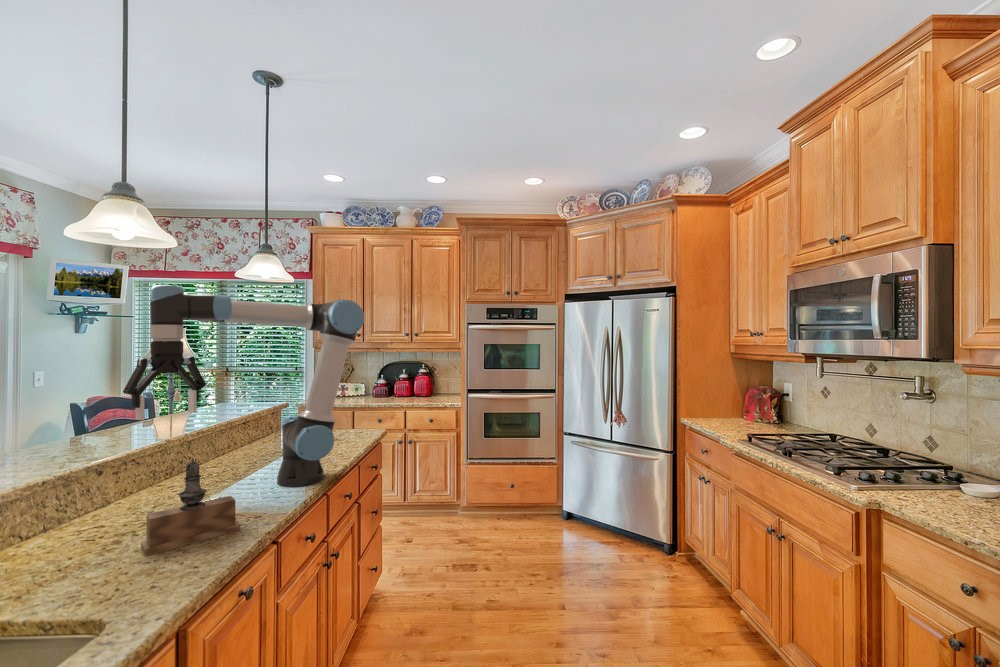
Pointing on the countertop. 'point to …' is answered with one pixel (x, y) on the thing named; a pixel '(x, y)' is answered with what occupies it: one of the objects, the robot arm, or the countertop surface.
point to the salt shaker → (192, 488)
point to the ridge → (189, 525)
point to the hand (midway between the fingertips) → (167, 415)
